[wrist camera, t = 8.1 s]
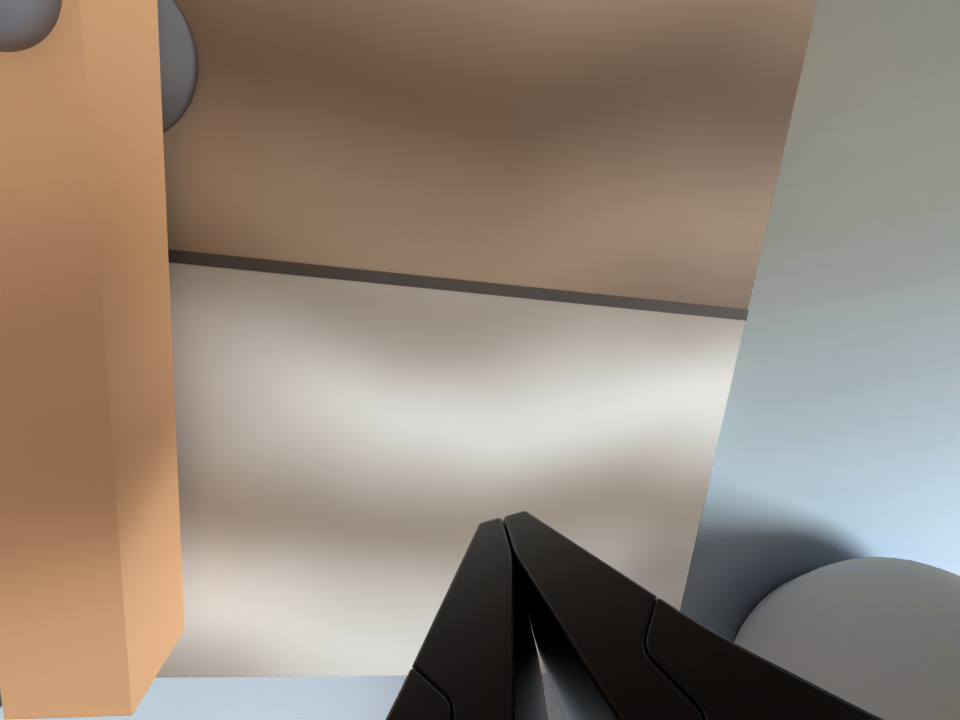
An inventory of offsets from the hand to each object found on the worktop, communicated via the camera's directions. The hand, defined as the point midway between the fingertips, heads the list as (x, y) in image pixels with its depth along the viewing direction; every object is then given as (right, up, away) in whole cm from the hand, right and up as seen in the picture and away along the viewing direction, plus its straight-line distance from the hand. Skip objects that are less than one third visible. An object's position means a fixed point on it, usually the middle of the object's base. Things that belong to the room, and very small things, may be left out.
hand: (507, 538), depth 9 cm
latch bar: (-9, +4, +3) cm, 10 cm away
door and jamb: (-5, +5, +5) cm, 8 cm away
